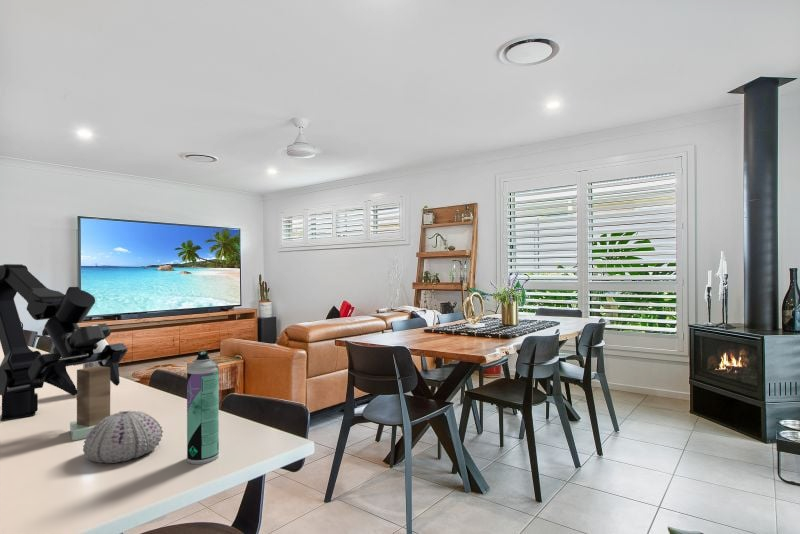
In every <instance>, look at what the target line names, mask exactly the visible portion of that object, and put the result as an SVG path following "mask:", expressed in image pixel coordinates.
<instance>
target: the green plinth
mask: <svg viewBox="0 0 800 534" xmlns="http://www.w3.org/2000/svg"><path fill="white" fill-rule="evenodd" d="M95 426H96V425H94V426H91V427H88V426H83V425H78V424H77V420H74V421H70V422H69V432H70V435H71V438H72V441H74V442H75V441H79V440H84V439H87V435H89V433H90V431H91V430H92V429H93V428H94V427H95Z"/></svg>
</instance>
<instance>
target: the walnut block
mask: <svg viewBox="0 0 800 534" xmlns="http://www.w3.org/2000/svg"><path fill="white" fill-rule="evenodd" d="M76 389H77V394H76V421H77V424H78V425H83V426H88V427H91V426H94V425H97V424H98V423H99V422H100V421H101V420H103V419H104V418H106V417H108V416H110V415H111V389H110V367H102V366H95V367H89V368H84V369H83V368H80V369H76Z"/></svg>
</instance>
